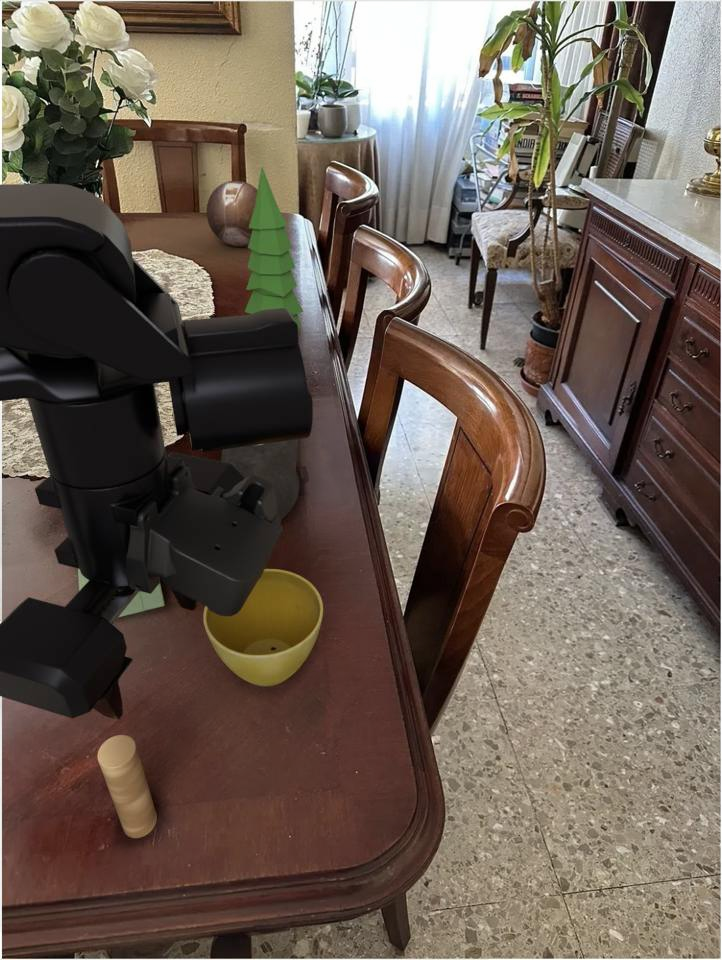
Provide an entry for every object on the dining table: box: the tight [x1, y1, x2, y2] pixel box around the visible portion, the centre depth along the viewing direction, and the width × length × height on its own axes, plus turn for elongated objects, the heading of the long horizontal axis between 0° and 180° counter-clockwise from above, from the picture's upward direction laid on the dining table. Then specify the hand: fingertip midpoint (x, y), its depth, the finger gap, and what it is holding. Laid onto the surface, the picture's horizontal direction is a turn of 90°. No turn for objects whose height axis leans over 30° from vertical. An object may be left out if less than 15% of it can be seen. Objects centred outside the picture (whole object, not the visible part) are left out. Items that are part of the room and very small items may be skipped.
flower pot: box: [202, 568, 324, 687], centre depth 58 cm, size 10×10×7 cm
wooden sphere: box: [206, 180, 258, 248], centre depth 162 cm, size 15×15×15 cm
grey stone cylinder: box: [220, 439, 300, 520], centre depth 83 cm, size 25×9×9 cm, turn 179°
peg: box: [97, 734, 158, 839], centre depth 46 cm, size 2×2×9 cm
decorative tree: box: [244, 166, 304, 329], centre depth 107 cm, size 10×9×30 cm
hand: (154, 657), depth 43 cm, fingers open, 9 cm apart
